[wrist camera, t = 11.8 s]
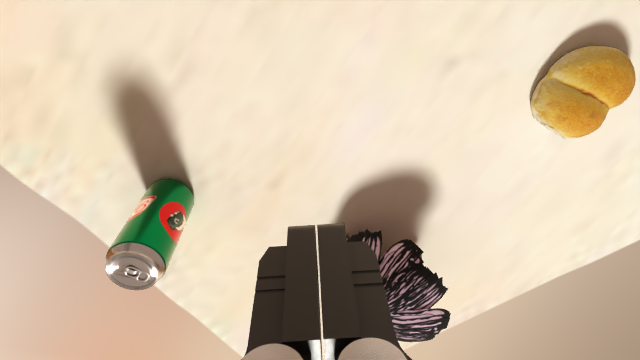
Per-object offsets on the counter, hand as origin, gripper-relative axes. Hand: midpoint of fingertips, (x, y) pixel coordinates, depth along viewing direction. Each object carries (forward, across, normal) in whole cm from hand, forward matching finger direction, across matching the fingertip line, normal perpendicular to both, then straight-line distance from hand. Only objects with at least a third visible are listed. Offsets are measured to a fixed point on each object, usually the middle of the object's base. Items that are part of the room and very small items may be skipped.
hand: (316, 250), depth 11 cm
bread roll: (+29, -26, +6) cm, 40 cm away
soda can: (+29, +16, +16) cm, 37 cm away
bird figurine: (+29, -7, +27) cm, 40 cm away
